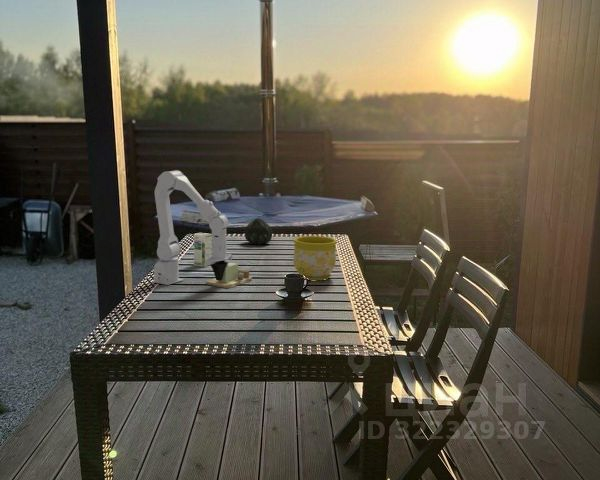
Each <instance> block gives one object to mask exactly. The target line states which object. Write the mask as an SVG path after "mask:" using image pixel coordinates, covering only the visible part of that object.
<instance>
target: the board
mask: <svg viewBox="0 0 600 480" xmlns="http://www.w3.org/2000/svg"><path fill="white" fill-rule="evenodd" d="M252 280H253V277H252V276H250V271H249V270H243V269H238V278H237V279H234V280H231V281H228V282H222V281H218V280H216V278H215V277H214V278H213V279H208V280H206V281H205V285H208V286H214V287H218V288H225V289H231V288H233V287H236V286H239V285H242V284H245V283H247V282H252Z"/></svg>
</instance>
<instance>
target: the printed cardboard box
mask: <svg viewBox="0 0 600 480" xmlns="http://www.w3.org/2000/svg"><path fill="white" fill-rule="evenodd" d="M210 257H212V233H205V232H204V233H203V232H197V233H194V234H193V266H195V267H201V268H205V267H208V266H210V265H205V260H207V259H209V258H210Z"/></svg>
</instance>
